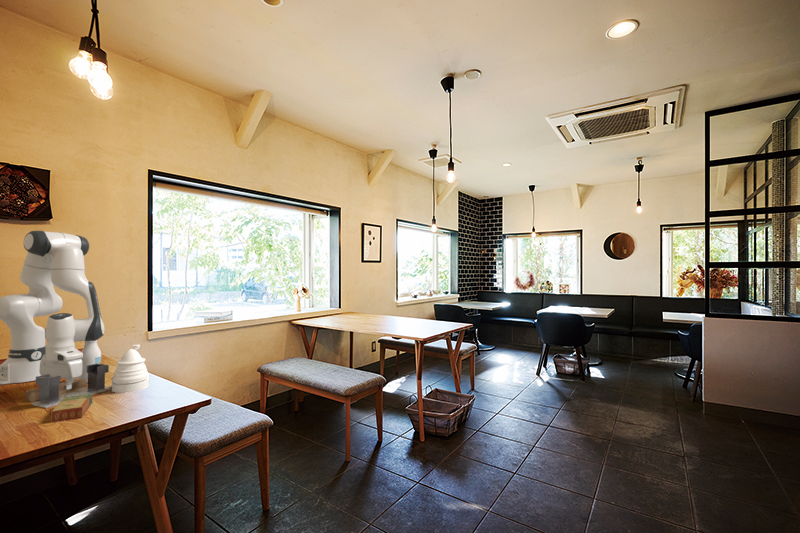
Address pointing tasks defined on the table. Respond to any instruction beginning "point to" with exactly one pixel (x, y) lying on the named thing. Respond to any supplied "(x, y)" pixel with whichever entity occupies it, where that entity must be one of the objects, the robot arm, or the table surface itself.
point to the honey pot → (130, 373)
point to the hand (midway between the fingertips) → (60, 387)
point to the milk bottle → (90, 357)
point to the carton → (71, 408)
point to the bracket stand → (52, 397)
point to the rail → (76, 385)
